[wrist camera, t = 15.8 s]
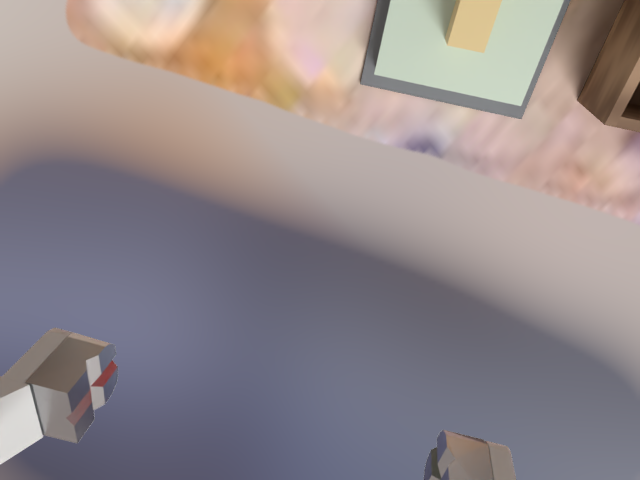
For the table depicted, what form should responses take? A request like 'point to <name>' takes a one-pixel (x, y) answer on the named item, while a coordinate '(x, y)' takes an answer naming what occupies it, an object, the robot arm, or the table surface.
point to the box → (617, 73)
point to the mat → (442, 94)
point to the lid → (467, 44)
